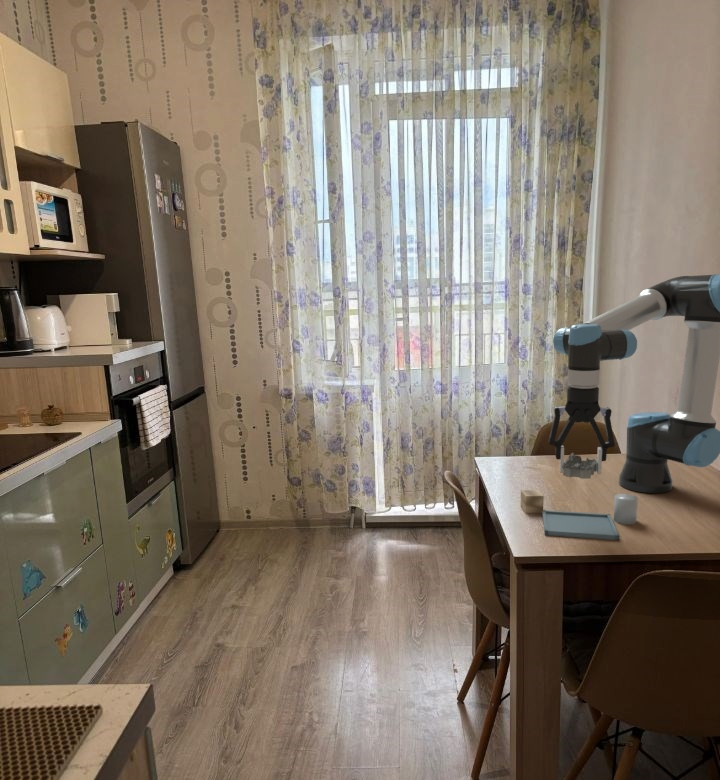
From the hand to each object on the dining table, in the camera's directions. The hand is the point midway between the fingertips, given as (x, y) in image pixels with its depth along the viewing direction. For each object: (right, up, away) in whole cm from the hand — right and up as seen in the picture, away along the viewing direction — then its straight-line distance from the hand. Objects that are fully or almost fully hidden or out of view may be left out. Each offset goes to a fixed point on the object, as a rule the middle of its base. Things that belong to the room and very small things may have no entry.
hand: (580, 471), depth 155 cm
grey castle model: (0, -1, 0) cm, 1 cm away
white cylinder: (+14, -14, +6) cm, 21 cm away
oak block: (-8, -13, +15) cm, 22 cm away
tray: (0, -15, +2) cm, 15 cm away
